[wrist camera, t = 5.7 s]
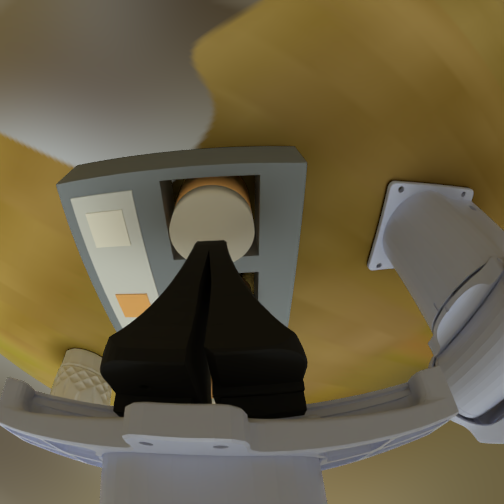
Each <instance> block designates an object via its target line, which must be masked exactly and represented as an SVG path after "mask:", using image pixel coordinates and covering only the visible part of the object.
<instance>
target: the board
mask: <svg viewBox="0 0 504 504" xmlns="http://www.w3.org/2000/svg"><path fill="white" fill-rule="evenodd" d="M306 171H307V162H306V161H305V159H304V158H303V157H302V155H301V154H300V153H299V152H298V150H297V149H296V148H295V146H253V147H225V148H207V149H193V150H181V151H171V152H162V153H152V154H145V155H137V156H129V157H122V158H116V159H110V160H104V161H98V162H92V163H87V164H82V165H77V166H76V167H75V168H74V169H73V170H71V171H70V172H69V173H68V174H67V175H66V176H65V177H64V178H63V179H62V180H60V181H59V182H58V183H57V184H56V186H57V190H58V193H59V196H60V200H61V203H62V206H63V209H64V212H65V215H66V218H67V221H68V224H69V227H70V229H71V232H72V235H73V238H74V240H75V243H76V246H77V248H78V251H79V253H80V256H81V258H82V261H83V263H84V265H85V268H86V270H87V272H88V275H89V277H90V279H91V281H92V284H93V286H94V288H95V290H96V292H97V294H98V296H99V299H100V301H101V303H102V305H103V307H104V309H105V311H106V313H107V315H108V317H109V319H110V320H111V322H112V324H113V326H114V328H115V330H116V332H118V331H119V330H121V329H122V328H124V327H125V326H127V325H128V324H130V323H131V322H132V321H133V320H135V319H136V318H137V317H138V316H140V315H141V314H142V313H143V312H144V311H145V310H146V309H147V308H149V307H150V306H151V305H152V303H153V302H154V301H155V300H156V299H157V298H158V297H159V296H160V295H161V294H162V293H163V292H164V290H165V289H166V288H167V287H168V286H169V284H170V283H171V282H172V280H173V279H174V277H175V276H176V275H177V273H178V272H179V270H180V269H181V267H182V266H183V264H184V263H185V261H186V259H185V258H184V257H182V256H181V255H180V254H179V253H178V252H177V250H176V249H175V248H174V246H173V244H172V242H171V239H170V233H169V227H170V222H171V219H172V215H173V212H174V208H175V202H174V195H173V188H172V180H175V179H188V178H202V177H219V176H240V175H255V220H254V230H255V234H254V239H253V242H252V245H251V247H250V248H249V250H248V251H247V252H246V253H245V254H244V255H243V256H242V257H241V258H240V259H238V260H236V261H235V262H233V263H234V265H235V267H236V269H237V271H238V273H247V272H254V296H255V297H256V298H257V299H258V301H259V302H260V303H261V304H262V305H263V306H264V307H265V308H266V309H267V310H268V311H269V312H270V313H271V314H272V315H273V316H274V317H275V318H276V319H278V320H279V321H280V322H281V323H282V324H284V325H285V326H286V327H287V328H288V322H289V315H290V308H291V302H292V294H293V287H294V280H295V272H296V264H297V256H298V248H299V240H300V231H301V222H302V213H303V203H304V193H305V182H306Z"/></svg>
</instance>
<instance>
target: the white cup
mask: <svg viewBox="0 0 504 504" xmlns="http://www.w3.org/2000/svg"><path fill="white" fill-rule="evenodd" d="M101 361H102V357H100V356H99V355H97V354H95V353H92V352H90V351H87V350H84V349H76V348H73V349H70V350H67V351H66V354H65V356H64V359H63V362H62V364H61V366H60V368H59V369H58V372H57V375H56V377H55V380H54V383H53V386H52V389H51V392H50V395H53V396H58V397H62V398H67V399H72V400H77V401H83V402H89V403H95V404H101V405H108V406H110V398H111V387H110V386H109V384H108V383H107V382H106V381H105V380H104V378H103V377H102V375H101V373H100V365H101Z"/></svg>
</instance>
